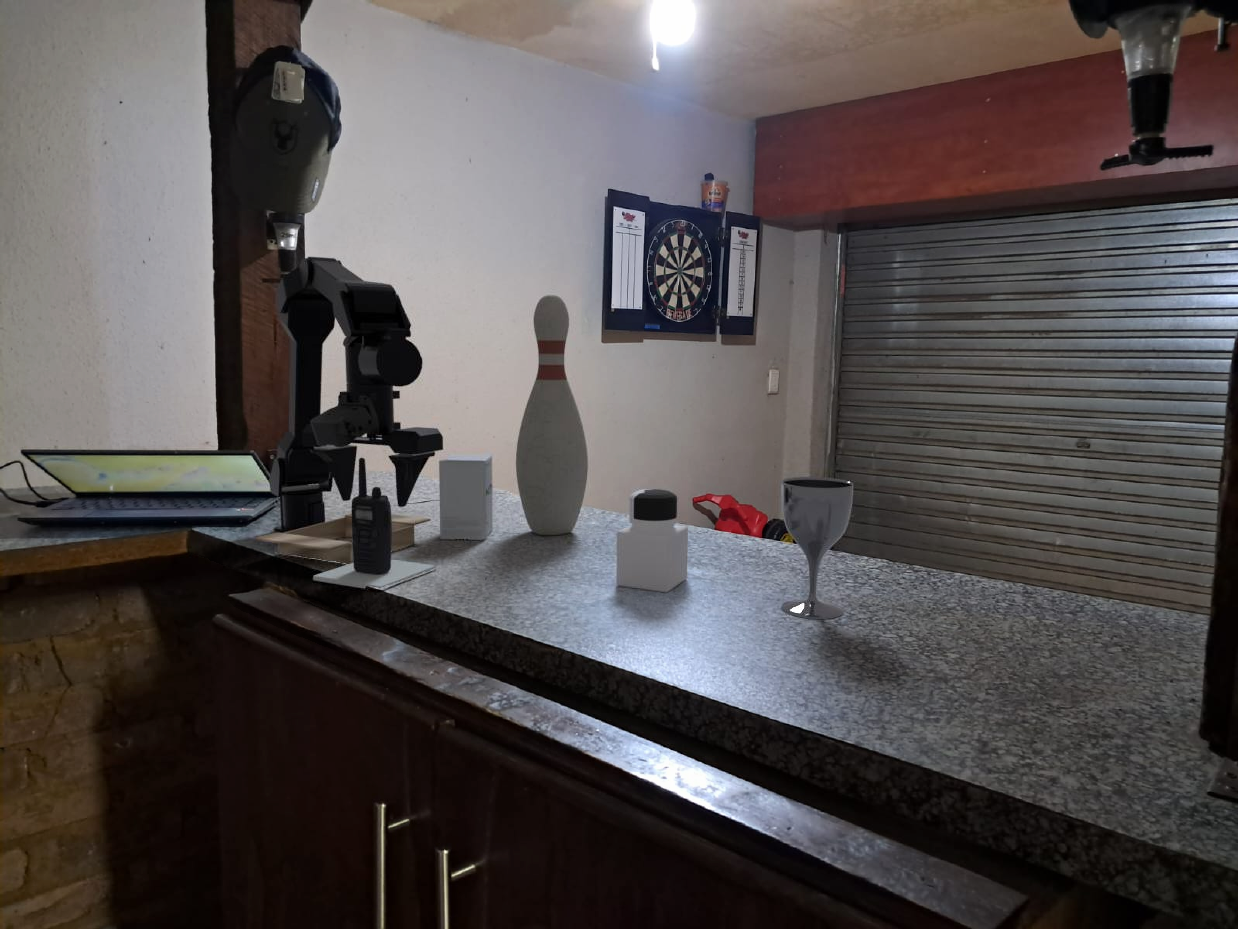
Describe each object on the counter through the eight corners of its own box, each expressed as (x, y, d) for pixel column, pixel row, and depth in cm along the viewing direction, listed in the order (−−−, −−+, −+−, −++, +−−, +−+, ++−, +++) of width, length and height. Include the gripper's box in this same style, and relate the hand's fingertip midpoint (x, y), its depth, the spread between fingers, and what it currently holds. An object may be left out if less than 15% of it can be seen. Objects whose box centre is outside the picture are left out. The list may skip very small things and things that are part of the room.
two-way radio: (347, 571, 110) (344, 458, 108) (369, 564, 114) (367, 454, 112) (381, 576, 108) (379, 460, 106) (403, 568, 112) (401, 457, 110)
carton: (255, 561, 117) (254, 537, 117) (362, 530, 137) (362, 510, 136) (330, 572, 112) (329, 548, 111) (430, 539, 131) (430, 518, 131)
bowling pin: (534, 543, 129) (533, 291, 124) (506, 528, 139) (504, 295, 134) (598, 535, 135) (599, 294, 129) (567, 522, 145) (567, 297, 139)
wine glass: (807, 624, 92) (813, 490, 90) (763, 604, 99) (767, 479, 97) (862, 614, 96) (868, 485, 94) (815, 595, 103) (821, 475, 101)
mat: (313, 580, 108) (313, 575, 108) (371, 560, 118) (371, 556, 118) (380, 591, 103) (380, 586, 103) (435, 570, 113) (435, 565, 113)
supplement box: (486, 540, 131) (485, 460, 129) (439, 540, 131) (437, 459, 129) (494, 530, 138) (493, 454, 136) (449, 529, 138) (447, 453, 136)
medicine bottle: (687, 579, 110) (689, 489, 108) (667, 593, 104) (669, 498, 102) (637, 572, 113) (638, 484, 111) (615, 586, 107) (616, 493, 105)
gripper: (265, 383, 104) (272, 507, 106) (385, 388, 96) (389, 522, 98) (331, 380, 114) (335, 493, 116) (444, 384, 106) (446, 505, 108)
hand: (373, 503), depth 109 cm, fingers open, 9 cm apart
